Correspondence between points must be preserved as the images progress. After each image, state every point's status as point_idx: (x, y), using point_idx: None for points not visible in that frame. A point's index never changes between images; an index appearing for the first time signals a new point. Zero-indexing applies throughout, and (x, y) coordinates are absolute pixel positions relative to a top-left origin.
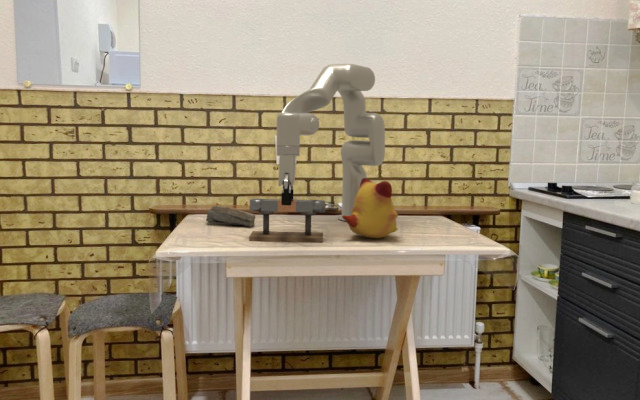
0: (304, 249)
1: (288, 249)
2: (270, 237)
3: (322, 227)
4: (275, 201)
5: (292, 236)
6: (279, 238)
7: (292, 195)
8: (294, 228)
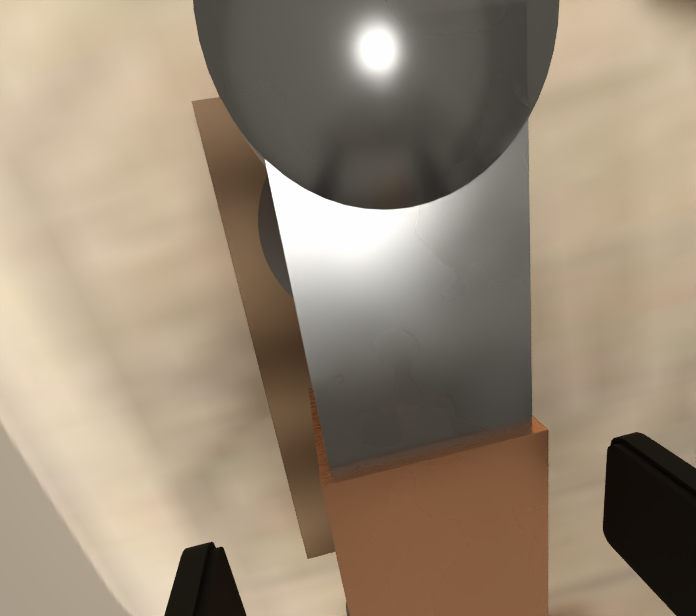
0: (98, 508)
1: (53, 435)
2: (236, 272)
3: (681, 433)
4: (322, 433)
5: (296, 404)
6: (251, 330)
7: (670, 605)
8: (652, 301)
